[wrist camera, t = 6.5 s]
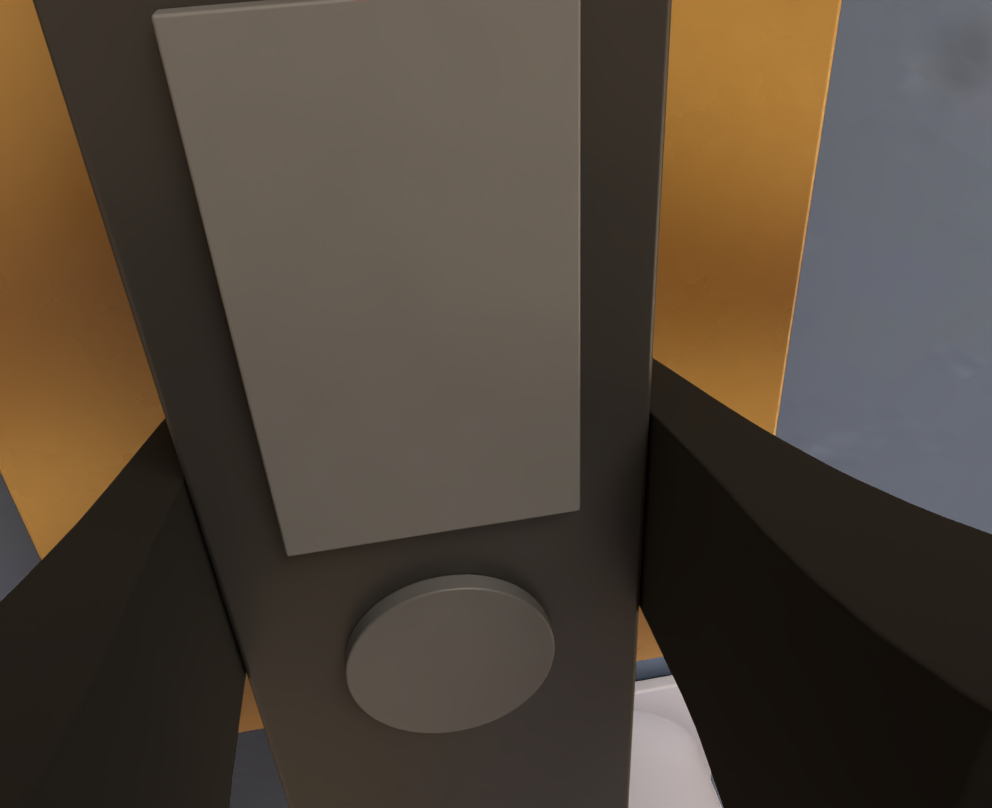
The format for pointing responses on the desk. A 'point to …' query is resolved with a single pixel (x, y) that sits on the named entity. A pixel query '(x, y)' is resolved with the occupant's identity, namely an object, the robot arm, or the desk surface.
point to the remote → (400, 362)
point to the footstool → (680, 274)
